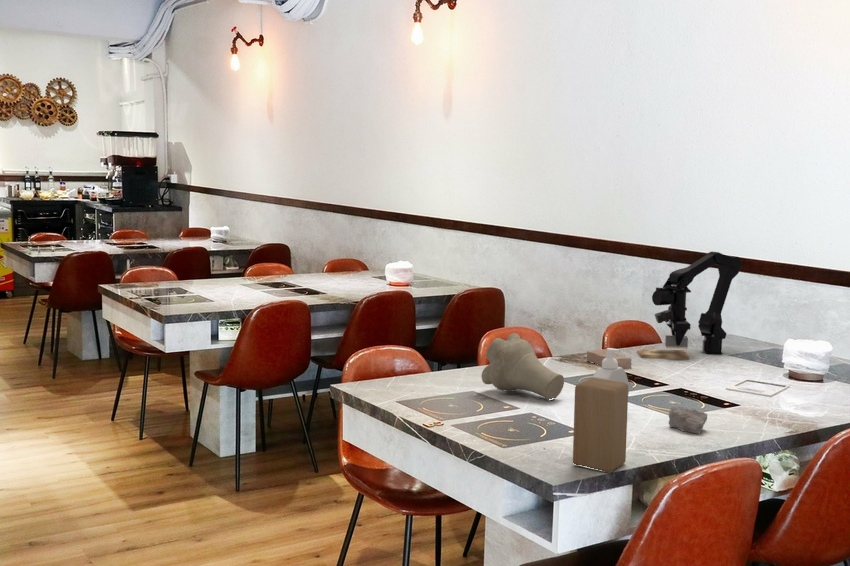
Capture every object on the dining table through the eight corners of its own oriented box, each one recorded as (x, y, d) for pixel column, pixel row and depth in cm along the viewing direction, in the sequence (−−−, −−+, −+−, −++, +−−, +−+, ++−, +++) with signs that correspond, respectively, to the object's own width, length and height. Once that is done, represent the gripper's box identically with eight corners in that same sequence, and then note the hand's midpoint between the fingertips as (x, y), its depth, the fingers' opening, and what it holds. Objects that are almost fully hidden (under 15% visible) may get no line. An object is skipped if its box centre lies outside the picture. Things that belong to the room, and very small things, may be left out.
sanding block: (686, 346, 346) (686, 336, 346) (687, 348, 342) (687, 338, 341) (665, 345, 348) (665, 335, 348) (666, 347, 343) (666, 337, 343)
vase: (595, 358, 274) (526, 325, 293) (556, 357, 258) (485, 322, 276) (572, 422, 278) (505, 386, 296) (532, 425, 262) (464, 386, 280)
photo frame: (725, 387, 290) (746, 378, 304) (725, 390, 290) (745, 381, 304) (770, 394, 281) (790, 385, 295) (770, 398, 281) (789, 388, 295)
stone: (664, 430, 243) (665, 409, 242) (672, 424, 250) (673, 403, 249) (700, 436, 238) (701, 415, 237) (708, 429, 245) (709, 408, 244)
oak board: (683, 353, 350) (683, 350, 350) (689, 358, 339) (689, 355, 339) (636, 352, 352) (636, 349, 351) (641, 357, 341) (641, 354, 341)
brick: (632, 369, 322) (633, 356, 321) (614, 371, 318) (615, 358, 317) (602, 360, 336) (603, 348, 336) (585, 362, 332) (585, 350, 332)
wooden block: (588, 455, 220) (591, 376, 217) (626, 463, 214) (630, 382, 212) (570, 466, 211) (573, 384, 209) (610, 474, 206) (613, 390, 203)
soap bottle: (603, 424, 248) (606, 354, 245) (586, 421, 251) (589, 351, 249) (629, 412, 260) (631, 346, 258) (612, 409, 264) (615, 343, 261)
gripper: (652, 300, 353) (651, 339, 354) (661, 307, 334) (659, 348, 336) (681, 301, 352) (679, 339, 354) (691, 307, 333) (689, 348, 335)
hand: (676, 344), depth 345 cm, fingers closed on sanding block, 5 cm apart
